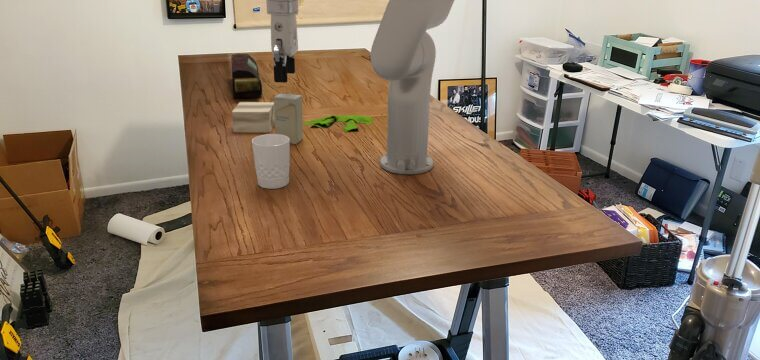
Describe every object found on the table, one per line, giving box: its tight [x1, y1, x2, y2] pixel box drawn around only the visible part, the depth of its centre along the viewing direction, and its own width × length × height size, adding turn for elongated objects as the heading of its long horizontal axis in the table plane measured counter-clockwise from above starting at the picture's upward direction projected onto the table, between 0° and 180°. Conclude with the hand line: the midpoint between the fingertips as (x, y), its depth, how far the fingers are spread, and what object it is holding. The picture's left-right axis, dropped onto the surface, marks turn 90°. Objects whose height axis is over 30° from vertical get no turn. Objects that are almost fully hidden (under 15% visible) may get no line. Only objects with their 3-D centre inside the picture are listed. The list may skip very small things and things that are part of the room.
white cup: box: [251, 133, 291, 190], centre depth 121 cm, size 8×8×10 cm
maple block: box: [231, 101, 275, 133], centre depth 158 cm, size 10×10×6 cm
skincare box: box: [273, 92, 304, 145], centre depth 146 cm, size 6×4×12 cm
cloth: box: [302, 114, 375, 133], centre depth 162 cm, size 20×22×2 cm
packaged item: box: [230, 53, 263, 99], centre depth 199 cm, size 39×10×10 cm, turn 14°
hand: (284, 77), depth 142 cm, fingers open, 9 cm apart
